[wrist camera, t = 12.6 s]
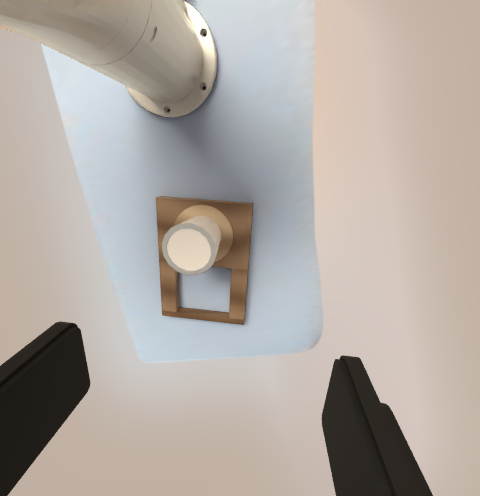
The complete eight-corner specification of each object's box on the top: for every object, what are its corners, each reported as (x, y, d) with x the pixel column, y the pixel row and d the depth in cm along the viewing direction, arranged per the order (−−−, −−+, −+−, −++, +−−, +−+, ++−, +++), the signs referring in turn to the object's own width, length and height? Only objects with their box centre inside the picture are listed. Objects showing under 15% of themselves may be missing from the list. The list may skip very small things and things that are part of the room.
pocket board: (160, 196, 39) (155, 198, 37) (253, 203, 37) (252, 205, 36) (165, 310, 45) (161, 316, 44) (244, 319, 44) (243, 325, 43)
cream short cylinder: (187, 259, 40) (171, 279, 33) (173, 216, 38) (153, 229, 31) (230, 251, 38) (222, 271, 32) (218, 206, 36) (207, 217, 30)
